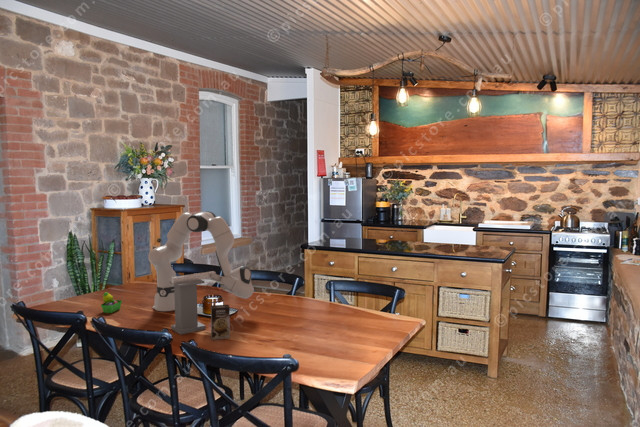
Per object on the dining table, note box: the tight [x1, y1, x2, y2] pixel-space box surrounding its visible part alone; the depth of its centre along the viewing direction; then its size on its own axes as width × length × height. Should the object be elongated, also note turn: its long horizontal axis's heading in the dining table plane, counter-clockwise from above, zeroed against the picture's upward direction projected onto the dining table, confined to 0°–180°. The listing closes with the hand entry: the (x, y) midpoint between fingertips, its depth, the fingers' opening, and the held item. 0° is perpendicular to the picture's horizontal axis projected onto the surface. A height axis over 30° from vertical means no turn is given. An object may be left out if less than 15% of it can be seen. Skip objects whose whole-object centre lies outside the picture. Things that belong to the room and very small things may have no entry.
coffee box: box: [210, 304, 231, 341], centre depth 252 cm, size 9×6×16 cm
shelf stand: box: [170, 279, 207, 335], centre depth 265 cm, size 14×12×26 cm
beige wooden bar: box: [171, 270, 217, 284], centre depth 266 cm, size 24×3×3 cm, turn 129°
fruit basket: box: [100, 291, 123, 314], centre depth 300 cm, size 11×9×11 cm
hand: (209, 274), depth 272 cm, fingers open, 3 cm apart
